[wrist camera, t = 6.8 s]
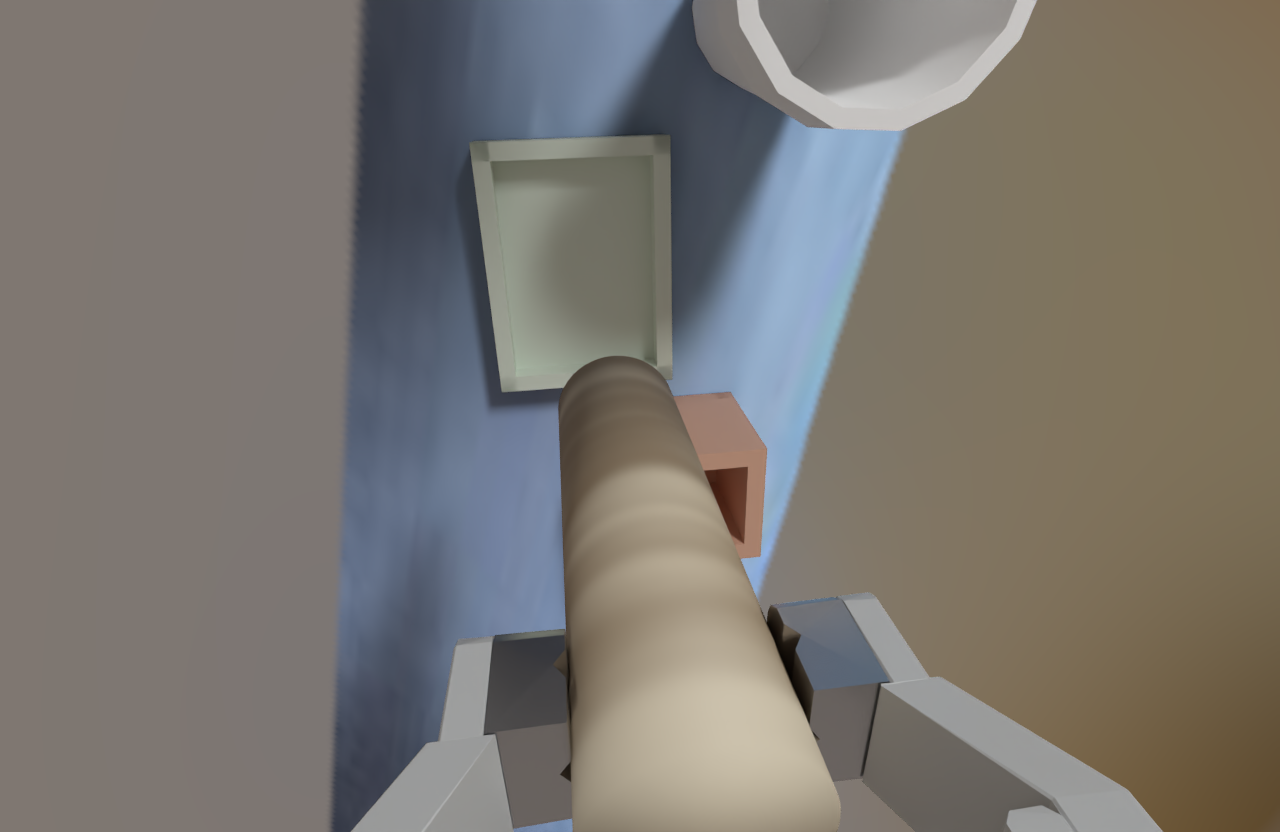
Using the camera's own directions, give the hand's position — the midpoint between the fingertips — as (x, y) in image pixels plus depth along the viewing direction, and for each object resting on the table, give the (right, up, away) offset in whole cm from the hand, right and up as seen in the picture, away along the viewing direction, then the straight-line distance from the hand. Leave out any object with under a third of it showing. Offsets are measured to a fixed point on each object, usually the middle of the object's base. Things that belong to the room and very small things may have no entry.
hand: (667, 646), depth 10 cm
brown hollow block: (+2, +2, +29) cm, 29 cm away
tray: (-4, +11, +24) cm, 27 cm away
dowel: (-1, +4, +7) cm, 8 cm away
